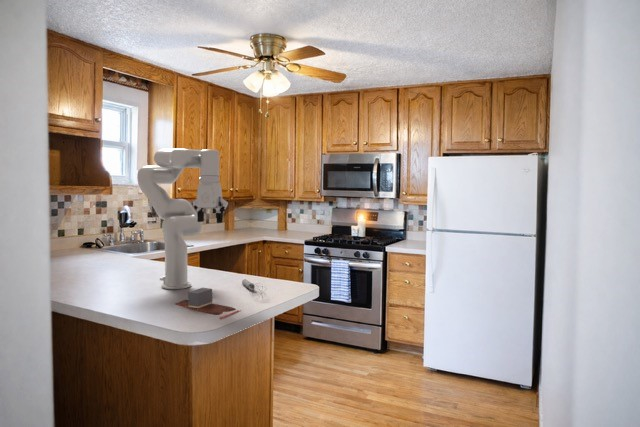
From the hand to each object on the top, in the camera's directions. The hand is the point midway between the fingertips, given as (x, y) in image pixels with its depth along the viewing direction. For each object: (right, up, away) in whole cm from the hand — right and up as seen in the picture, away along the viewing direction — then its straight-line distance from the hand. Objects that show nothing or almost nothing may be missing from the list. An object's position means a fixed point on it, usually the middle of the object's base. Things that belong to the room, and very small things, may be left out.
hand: (210, 222), depth 181 cm
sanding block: (0, -31, -16) cm, 34 cm away
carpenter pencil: (+13, -32, -26) cm, 43 cm away
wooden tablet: (+1, -32, -15) cm, 35 cm away
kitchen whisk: (+15, -31, +9) cm, 35 cm away
